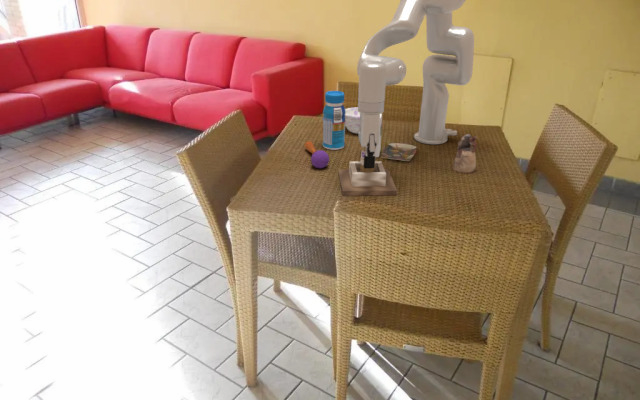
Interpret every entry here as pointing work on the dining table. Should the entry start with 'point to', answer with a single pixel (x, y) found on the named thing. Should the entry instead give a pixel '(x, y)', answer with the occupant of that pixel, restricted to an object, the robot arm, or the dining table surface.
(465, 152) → the figurine
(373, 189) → the socket board
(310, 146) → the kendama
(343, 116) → the beverage bottle
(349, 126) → the paper bowls
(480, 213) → the dining table surface
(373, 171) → the sprinkles bottle
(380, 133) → the syrup box
